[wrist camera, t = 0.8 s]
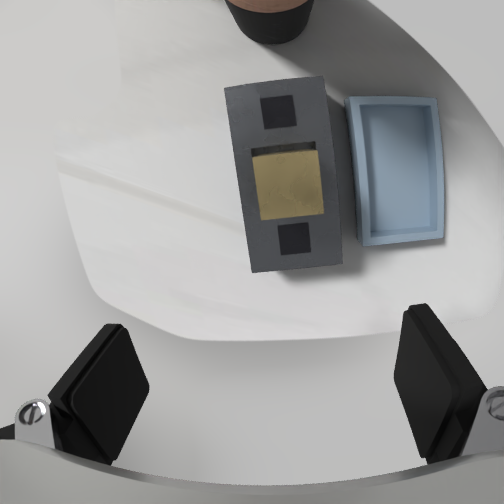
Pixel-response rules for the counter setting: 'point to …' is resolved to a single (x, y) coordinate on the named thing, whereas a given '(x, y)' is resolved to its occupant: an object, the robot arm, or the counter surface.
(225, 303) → the counter surface
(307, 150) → the brushed brass bar
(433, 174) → the parts tray
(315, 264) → the grey slotted block
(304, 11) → the travel mug
